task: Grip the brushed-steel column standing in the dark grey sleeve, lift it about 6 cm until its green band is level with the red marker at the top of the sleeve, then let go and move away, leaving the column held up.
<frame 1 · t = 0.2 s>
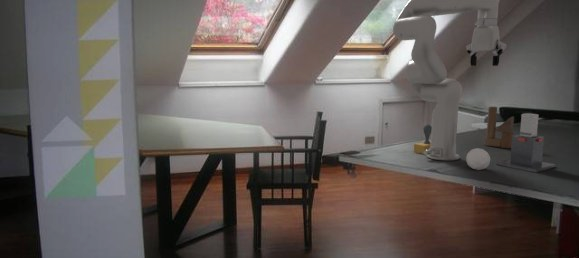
hand: (484, 65, 175), 37 cm above the table, tool pointing down, fingers open, 9 cm apart
rubber stamp: (426, 152, 180), on the table
column: (528, 138, 153), point 10 cm above the table, slide at 0.0 cm
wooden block: (497, 147, 191), on the table
geometric ball: (477, 169, 150), on the table
stand base: (525, 165, 155), on the table
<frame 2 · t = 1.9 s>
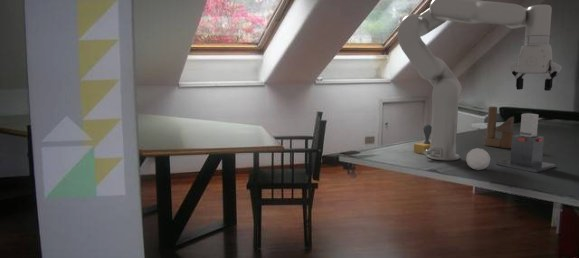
hand: (533, 89, 150), 28 cm above the table, tool pointing down, fingers open, 9 cm apart
nothing on the table moved.
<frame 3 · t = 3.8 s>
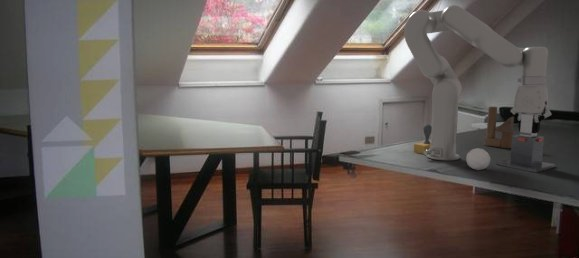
hand: (528, 131, 153), 13 cm above the table, tool pointing down, fingers closed on column, 4 cm apart
column: (528, 138, 153), point 10 cm above the table, slide at 0.0 cm, touching gripper
everything else where it was.
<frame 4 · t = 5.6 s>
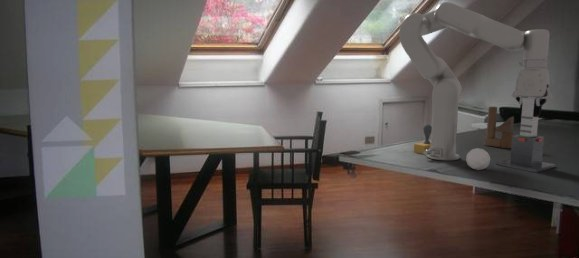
hand: (530, 115, 152), 19 cm above the table, tool pointing down, fingers closed on column, 4 cm apart
column: (529, 122, 152), point 16 cm above the table, slide at 5.9 cm, touching gripper
everything else where it was.
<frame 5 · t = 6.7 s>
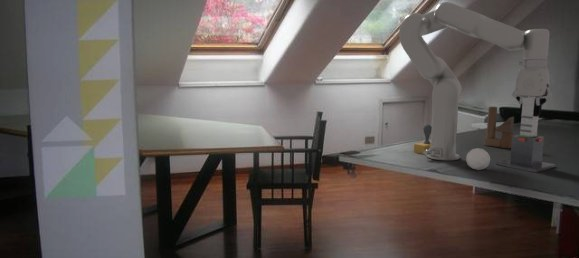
hand: (530, 115, 152), 19 cm above the table, tool pointing down, fingers closed on column, 4 cm apart
column: (529, 122, 152), point 16 cm above the table, slide at 6.1 cm, touching gripper
everything else where it was.
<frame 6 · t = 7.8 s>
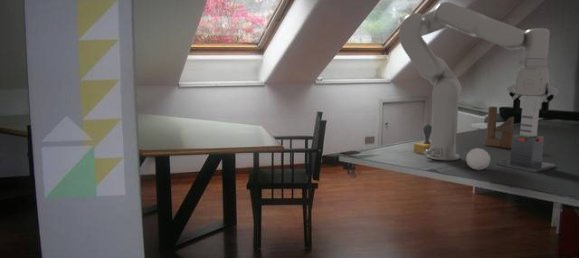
hand: (529, 111, 152), 20 cm above the table, tool pointing down, fingers open, 9 cm apart
column: (529, 122, 152), point 16 cm above the table, slide at 6.1 cm
everything else where it was.
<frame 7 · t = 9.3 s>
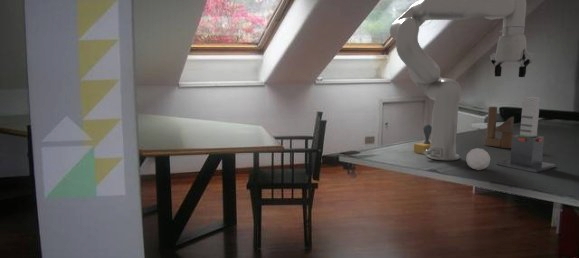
hand: (509, 76, 165), 32 cm above the table, tool pointing down, fingers open, 9 cm apart
nothing on the table moved.
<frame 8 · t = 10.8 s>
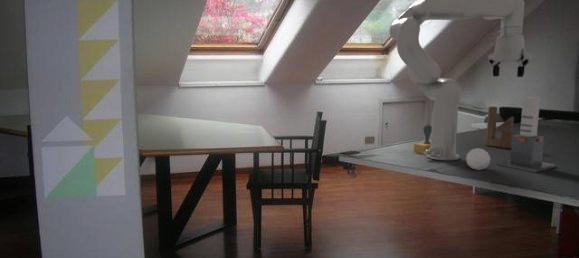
hand: (507, 76, 166), 32 cm above the table, tool pointing down, fingers open, 9 cm apart
nothing on the table moved.
at the end: column slide at 6.1 cm; the gripper is holding nothing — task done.
